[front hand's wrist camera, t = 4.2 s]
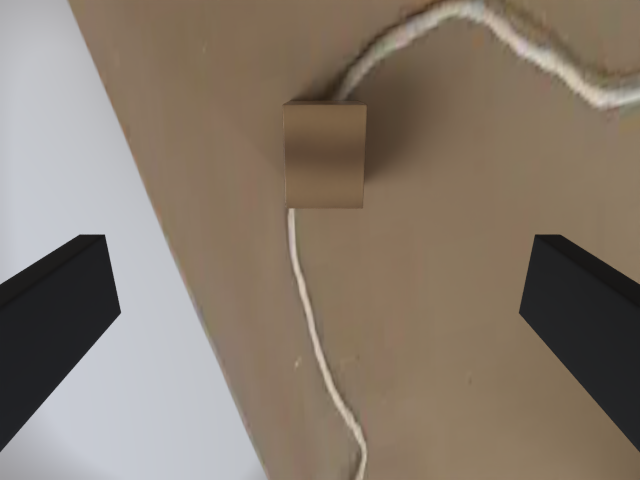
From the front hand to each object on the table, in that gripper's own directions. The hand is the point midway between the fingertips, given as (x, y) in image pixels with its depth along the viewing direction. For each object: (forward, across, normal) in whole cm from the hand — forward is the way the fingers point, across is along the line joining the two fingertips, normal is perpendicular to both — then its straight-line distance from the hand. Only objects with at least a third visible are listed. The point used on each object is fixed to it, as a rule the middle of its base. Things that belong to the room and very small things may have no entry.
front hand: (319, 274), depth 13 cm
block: (+27, 0, 0) cm, 27 cm away
